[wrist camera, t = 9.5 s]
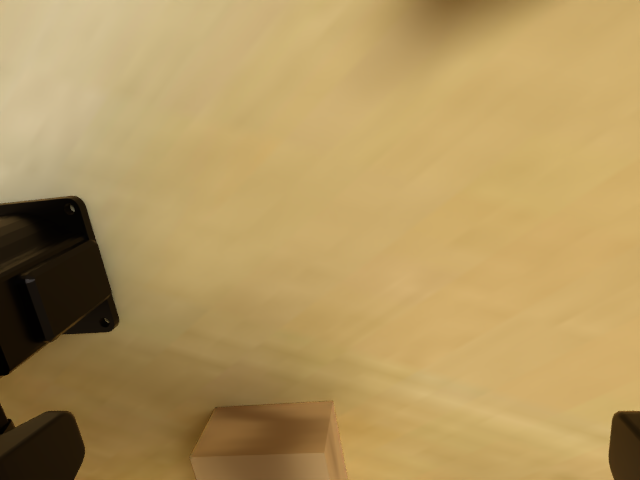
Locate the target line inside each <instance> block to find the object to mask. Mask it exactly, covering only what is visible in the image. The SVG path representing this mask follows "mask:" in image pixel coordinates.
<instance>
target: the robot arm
mask: <svg viewBox="0 0 640 480" xmlns="http://www.w3.org/2000/svg"><path fill="white" fill-rule="evenodd" d="M70 204H71V205H73V207H74V208H75V212H73V211H72V210H71V208H70ZM104 318H106V319H107V320H108V321H109V323H108V322H106V321H105V319H104ZM118 323H119V317H118V314H117V310H116V307H115V304H114V300H113V297H112V293H111V288H110V285H109V282H108V278H107V275H106V271H105V268H104V265H103V261H102V258H101V255H100V251H99V248H98V245H97V243H96V240H95V236H94V233H93V229H92V226H91V223H90V219H89V216H88V213H87V209H86V206H85V204H84V202H83V201H82V200H81V199H80V198H78V197H76V196H66V197H57V198H48V199H39V200H29V201H20V202H11V203H2V204H0V378H1V377H2V376H5V375H8V374H9V373H11V372H12V371H13V370H15V369H16V368H17V367H18V366H20V365H21V364H22V363H24V362H25V361H26V360H27V359H29V358H30V357H31V356H33V355H34V354H35V353H36V352H38V351H39V350H40V349H42V348H43V347H44V346H45V345H47V344H48V343H49V342H52V341H54V340H55V339H57V338H58V337H59V336H60V335H62V334H79V333H99V332H109V331H112V330H113V329H114V328H115V327H116V326H117V325H118ZM84 455H85V447H84V443H83V440H82V437H81V434H80V432H79V429H78V426H77V423H76V420H75V417H74V415H73V414H72V413H71V412H68V411H48V412H45V413H43V414H41V415H39V416H37V417H35V418H33V419H31V420H29V421H27V422H25V423H23V424H21V425H19V426H17V427H16V428H15V426H14V424H13V422H12V420H11V419H7V417H6V415H5V413H4V410H3V408H2V406H1V404H0V480H74V479H75V476H76V474H77V472H78V470H79V468H80V466H81V464H82V462H83V459H84ZM609 464H610V469H611V472H612V475H613V478H614V480H640V411H618V412H616V413H615V414H614V416H613V418H612V426H611V436H610V446H609Z"/></svg>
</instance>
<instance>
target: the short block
mask: <svg viewBox="0 0 640 480" xmlns="http://www.w3.org/2000/svg"><path fill="white" fill-rule="evenodd" d="M189 458H190V461H191V464H192V467H193V470H194V473H195V476H196V479H197V480H348V476H347V470H346V465H345V460H344V455H343V450H342V445H341V440H340V434H339V429H338V424H337V419H336V414H335V409H334V403H333V401H319V402H301V403H283V404H265V405H247V406H230V407H215V409H214V411H213V413H212V415H211V417H210V419H209V421H208V423H207V425H206V427H205V428H204V430H203V432H202V434H201V436H200V438H199V440H198V442H197V444H196V446H195V447H194V449H193V451H192V453H191V455H190V457H189Z"/></svg>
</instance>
